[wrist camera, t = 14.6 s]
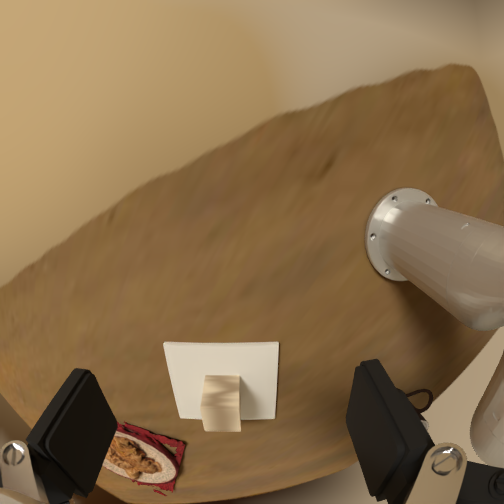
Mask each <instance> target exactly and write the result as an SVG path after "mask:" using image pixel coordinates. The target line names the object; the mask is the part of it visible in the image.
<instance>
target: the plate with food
mask: <svg viewBox="0 0 504 504" xmlns="http://www.w3.org/2000/svg"><path fill="white" fill-rule="evenodd" d="M124 423H126V424H125V425H121V424H119V423H118V422H117V424H118V427H117V430H116V433H115V435H114V438H113V440H112V442H111V445H110V447H109V450H108V452H107V455H106V457H105V460H104V462H103V465H102V466H105V468H107V469H108V470H110V471H112V472H114V473H116V474H118V475H121V476H124V477H125V478H129V479H131V480H132V482H135V481H136V482H138V483H137V484H138V485H140V484H141V485H148V486H149V485H151V486H152V485H155V486H159V487H160V488H161V489H163V490H166V491H168V490H170V491H172V492H173V487H174V486H173V485H174V484H175V481H176V477H177V474H178V470H179V466H180V462H181V459H182V455H183V451H184V447H185V444H183V443H182V441H178V442H177V440H174V439H168V438H166V437H165V436H161V435H156V434H153V433H152V434H151V433H149V431H147V430H144V429H141V428H139V427H135V426H133V425H128V424H127V422H124ZM158 440H159V441H160V442H161V443H163V444H166V443H167V444H168V445H170V447H177V449H176V452H177V453H176V454H175V456H177V457H174V456H172V455H171V454H170V452H169V451H168V450H167V449H166V448H165V447H164V446H163V445H162V444H161V443H159V441H158ZM153 487H154V486H153ZM153 490H154V489H153ZM154 492H157V493H159V494H162V495H164V496H167V495H165V494H163V493H162V492H160V491H157V490H154Z"/></svg>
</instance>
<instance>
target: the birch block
mask: <svg viewBox="0 0 504 504" xmlns="http://www.w3.org/2000/svg"><path fill="white" fill-rule="evenodd" d="M200 411H201V416H202V420H203V425H204V430H205V431H241V395H240V379H239V375H205V380H204V386H203V392H202V399H201V405H200Z"/></svg>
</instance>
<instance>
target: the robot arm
mask: <svg viewBox="0 0 504 504" xmlns="http://www.w3.org/2000/svg"><path fill="white" fill-rule="evenodd" d="M392 197H393V200H392ZM371 234H372V236H371ZM370 236H371V237H370ZM365 247H366V252H367V255H368V258H369V260H370V262H371V264H372V265H373V267H374V268H375V269H376V270H377V271H378V272H379V273H380V274H381V275H383V276H384V277H386V278H388V279H391V280H394V281H407V280H409V281H410V282H412V283H413V284H414V285H415V286H417V287H418V288H419V289H421V290H422V291H423V292H424V293H426V294H427V295H428V296H429V297H431V298H432V299H433V300H434V301H436V302H437V303H438V304H439V305H441V306H442V307H443V308H444V309H445V310H447V311H448V312H449V313H450V314H452V315H453V316H454V317H455V318H457V319H458V320H459V321H460V322H462V323H463V324H464V325H466V326H467V327H469V328H471V329H474V330H479V331H488V330H493V329H496V328H499V327H502V326H504V227H503V226H500V225H497V224H494V223H490V222H487V221H484V220H481V219H478V218H474V217H471V216H468V215H465V214H461V213H458V212H454V211H451V210H448V209H444V208H440V207H438V206H437V204H436V202H435V201H434V200H433V199H432V198H431V197H430V196H429V195H428V194H427V193H425V192H423V191H421V190H418V189H414V188H400V189H396V190H394V191H391V192H390V193H388V194H387V195H385V196H384V197H383V198H382V199H381V200H380V201H379V202H378V203H377V204H376V206H375V207H374V209H373V210H372V212H371V215H370V217H369V219H368V222H367V226H366V232H365ZM385 270H386V271H385ZM346 424H347V427H348V430H349V433H350V436H351V439H352V442H353V445H354V448H355V451H356V454H357V457H358V460H359V462H360V465H361V469H362V472H363V475H364V478H365V481H366V484H367V487H368V490H369V493H370V495H371V496H372V497H373V496H376V499H377V501H382V500H385V499H387V502H388V504H504V351H503V355H502V357H501V359H500V362H499V364H498V366H497V368H496V370H495V373H494V375H493V377H492V378H491V381H490V382H489V385H488V386H487V388H486V390H485V392H484V394H483V396H482V398H481V400H480V402H479V404H478V406H477V408H476V410H475V413H474V415H473V418H472V422H471V427H470V439H471V444H472V447H473V449H474V451H475V452H476V454H477V455H478V457H479V458H480V459H481V460H482V461H484V462H485V463H486V464H487V465H484V464H479V463H475V462H470V461H467V456H466V453H465V452H464V451H463V449H462V448H461V447H459V446H458V445H456V444H453V443H441V444H438V445H436V446H435V444H434V443H433V441H432V439H431V437H430V435H429V434H428V432H427V430H426V428H425V427H424V425H423V423H422V422H421V420H420V418H419V416H418V415H417V413H416V411H415V410H414V408H413V406H412V405H411V403H410V401H409V400H408V398H407V396H406V395H405V393H404V392H403V391H402V390H397V389H396V388H395V386H394V384H393V383H392V381H391V379H390V378H389V376H388V374H387V373H386V371H385V369H384V368H383V366H382V365H381V363H380V361H379V360H378V359H373V360H368V361H362V362H361V363H360V366H357V367H356V368H355V373H354V379H353V385H352V390H351V395H350V400H349V405H348V410H347V414H346ZM117 427H118V424H117V420H116V418H115V416H114V415H113V413H112V411H111V409H110V407H109V405H108V403H107V401H106V399H105V397H104V395H103V393H102V390H101V388H100V386H99V384H98V382H97V379H96V377H95V375H94V374H92V373H91V371H90V370H87V369H79V368H76V369H74V370H73V371H72V372H71V374H70V375H69V377H68V378H67V379H66V381H65V382H64V384H63V385H62V386H61V388H60V389H59V391H58V392H57V393H56V395H55V396H54V398H53V399H52V401H51V402H50V404H49V405H48V406H47V408H46V409H45V411H44V412H43V414H42V415H41V417H40V418H39V420H38V421H37V423H36V424H35V426H34V428H33V429H32V431H31V432H30V434H29V435H28V437H27V439H26V441H27V442H28V445H27V446H26V445H25V444H24V443H23V442H21V441H18V440H14V441H10V442H8V443H6V444H5V445H4V446H3V447H2V449H1V451H0V504H75V503H74V500H73V498H72V495H73V493H75V494H77V495H80V496H83V497H85V498H87V496H88V493H90V492H92V490H93V488H94V486H95V483H96V480H97V478H98V475H99V472H100V470H101V467H102V465H103V462H104V460H105V457H106V455H107V452H108V450H109V447H110V445H111V442H112V440H113V438H114V435H115V433H116V430H117Z"/></svg>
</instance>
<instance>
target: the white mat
mask: <svg viewBox="0 0 504 504" xmlns="http://www.w3.org/2000/svg"><path fill="white" fill-rule="evenodd" d="M163 345H164V350H165V355H166V360H167V365H168V369H169V374H170V378H171V383H172V387H173V391H174V395H175V400H176V404H177V407H178V411H179V415H180V418H188V419H202V416H201V411H200V405H201V399H202V392H203V386H204V380H205V375H239V379H240V395H241V420H256V419H275V408H276V391H277V372H278V351H279V343H278V342H255V343H185V342H164V344H163Z"/></svg>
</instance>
